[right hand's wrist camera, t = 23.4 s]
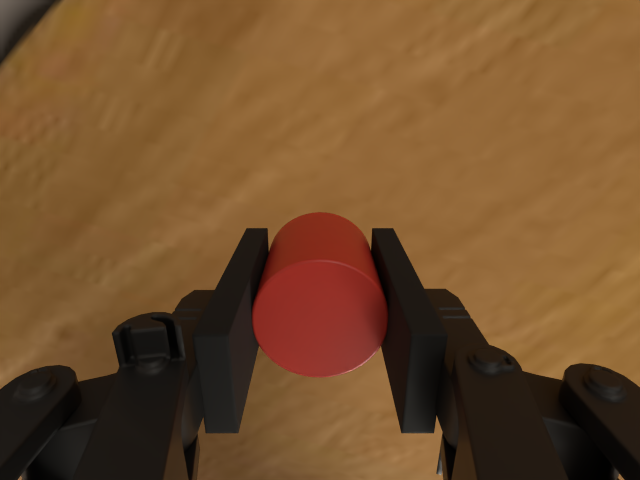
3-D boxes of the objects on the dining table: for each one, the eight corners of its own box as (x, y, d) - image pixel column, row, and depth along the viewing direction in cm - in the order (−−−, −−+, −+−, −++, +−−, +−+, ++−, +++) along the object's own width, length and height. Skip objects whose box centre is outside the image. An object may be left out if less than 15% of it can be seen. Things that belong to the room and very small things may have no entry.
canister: (252, 277, 15) (227, 345, 11) (299, 192, 14) (291, 234, 10) (338, 319, 16) (344, 397, 12) (390, 242, 15) (417, 299, 11)
